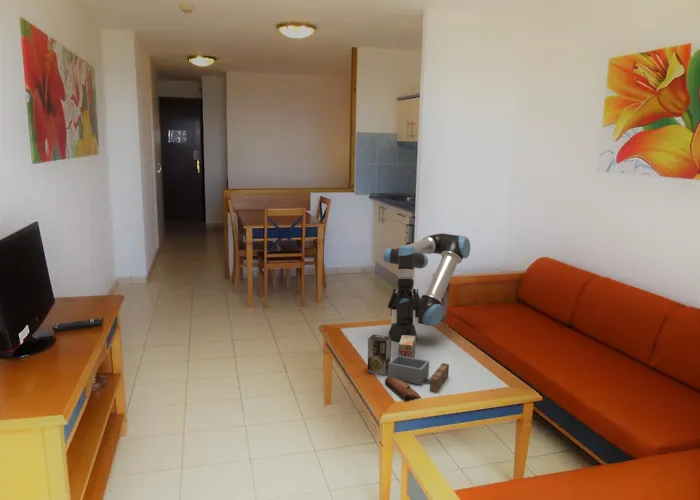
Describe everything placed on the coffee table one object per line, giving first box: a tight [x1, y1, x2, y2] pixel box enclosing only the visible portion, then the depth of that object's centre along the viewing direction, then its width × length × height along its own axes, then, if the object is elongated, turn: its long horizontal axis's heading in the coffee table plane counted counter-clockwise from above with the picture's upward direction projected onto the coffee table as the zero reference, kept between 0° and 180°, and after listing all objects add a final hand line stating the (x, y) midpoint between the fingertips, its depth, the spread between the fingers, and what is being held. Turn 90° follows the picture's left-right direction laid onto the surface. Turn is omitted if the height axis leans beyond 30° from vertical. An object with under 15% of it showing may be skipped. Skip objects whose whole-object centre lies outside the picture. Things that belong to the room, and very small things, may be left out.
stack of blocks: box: [397, 335, 417, 358], centre depth 257 cm, size 21×6×12 cm, turn 169°
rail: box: [422, 378, 430, 386], centre depth 238 cm, size 5×20×1 cm, turn 65°
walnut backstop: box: [429, 362, 450, 394], centre depth 233 cm, size 18×3×6 cm, turn 155°
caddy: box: [387, 354, 430, 385], centre depth 238 cm, size 11×15×7 cm
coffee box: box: [367, 333, 392, 376], centre depth 243 cm, size 9×6×16 cm
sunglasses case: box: [384, 376, 422, 402], centre depth 225 cm, size 18×7×7 cm
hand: (404, 324), depth 254 cm, fingers open, 13 cm apart
